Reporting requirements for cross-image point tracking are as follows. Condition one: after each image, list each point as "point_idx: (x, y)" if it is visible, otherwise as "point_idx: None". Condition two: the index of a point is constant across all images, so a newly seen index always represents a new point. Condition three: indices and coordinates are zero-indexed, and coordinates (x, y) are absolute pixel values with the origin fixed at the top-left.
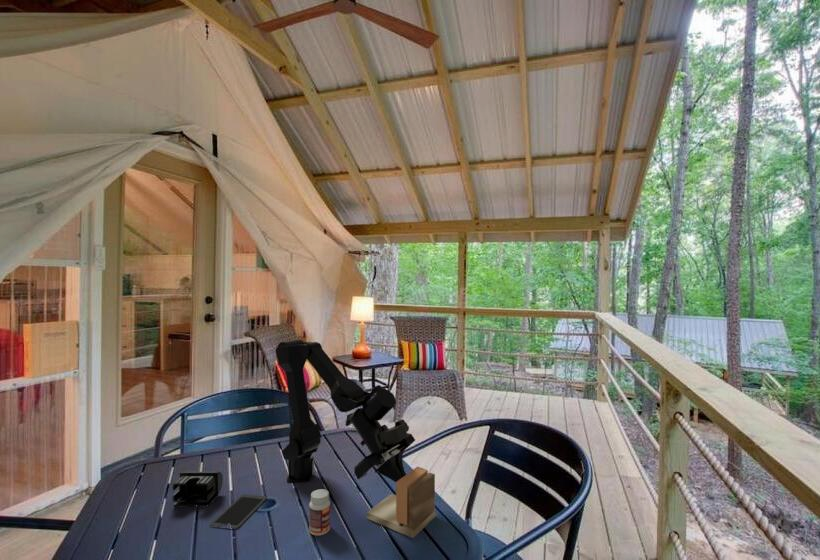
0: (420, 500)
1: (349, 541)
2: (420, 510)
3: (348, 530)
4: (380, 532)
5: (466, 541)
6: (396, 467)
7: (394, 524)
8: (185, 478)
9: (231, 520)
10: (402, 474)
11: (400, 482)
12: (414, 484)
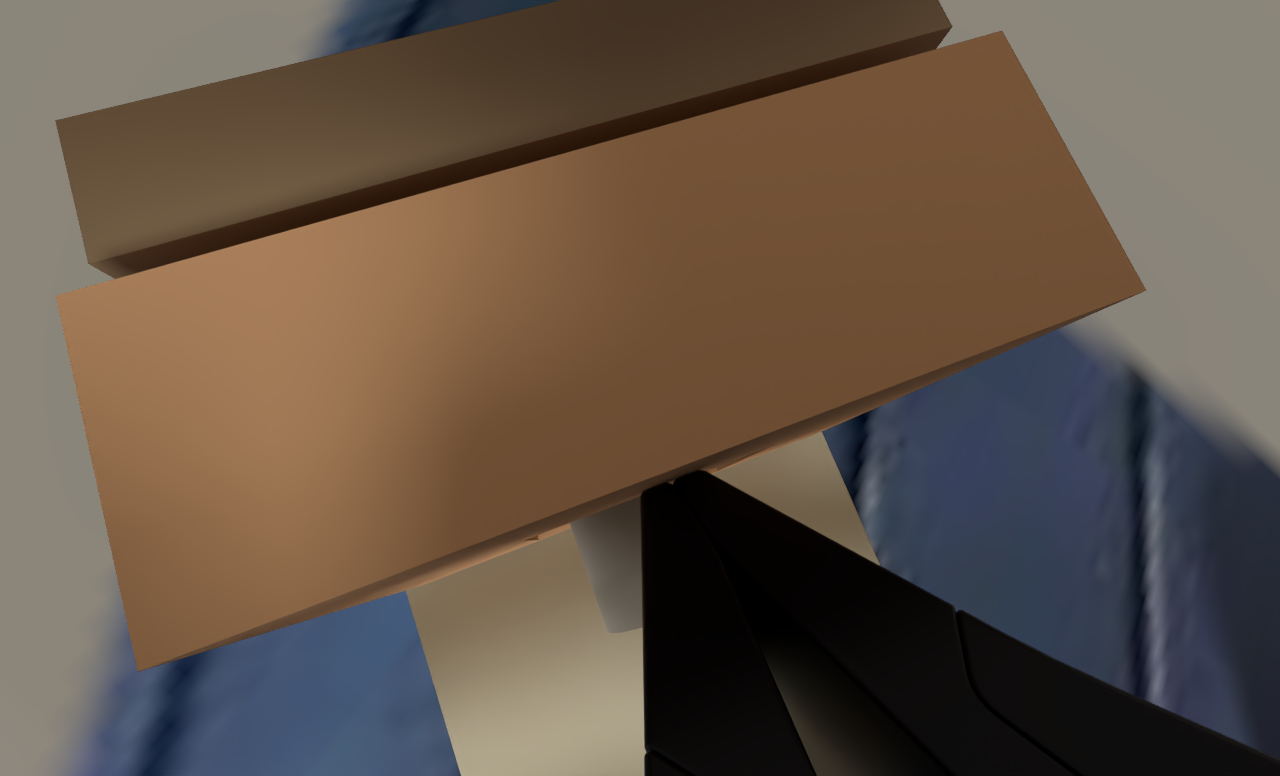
0: None
1: (1177, 542)
2: None
3: (1147, 689)
4: (915, 493)
5: (412, 14)
6: (1046, 772)
7: (821, 436)
8: None
9: None
10: (745, 625)
11: (1065, 216)
12: (770, 73)
